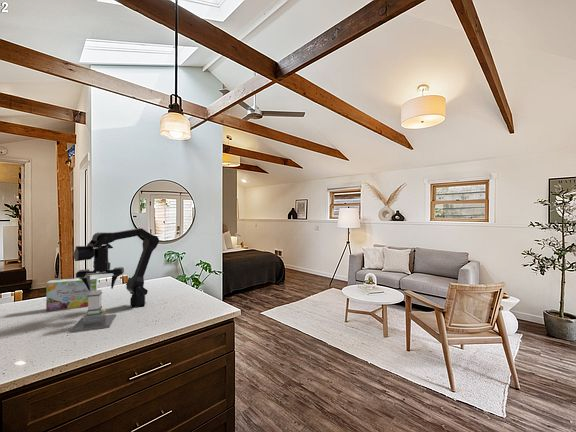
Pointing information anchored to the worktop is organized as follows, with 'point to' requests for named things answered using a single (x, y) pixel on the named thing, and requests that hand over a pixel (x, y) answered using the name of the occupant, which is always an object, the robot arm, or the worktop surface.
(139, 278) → the robot arm
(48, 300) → the snack box
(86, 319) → the stand base
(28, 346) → the worktop surface
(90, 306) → the gray rectangular plug
